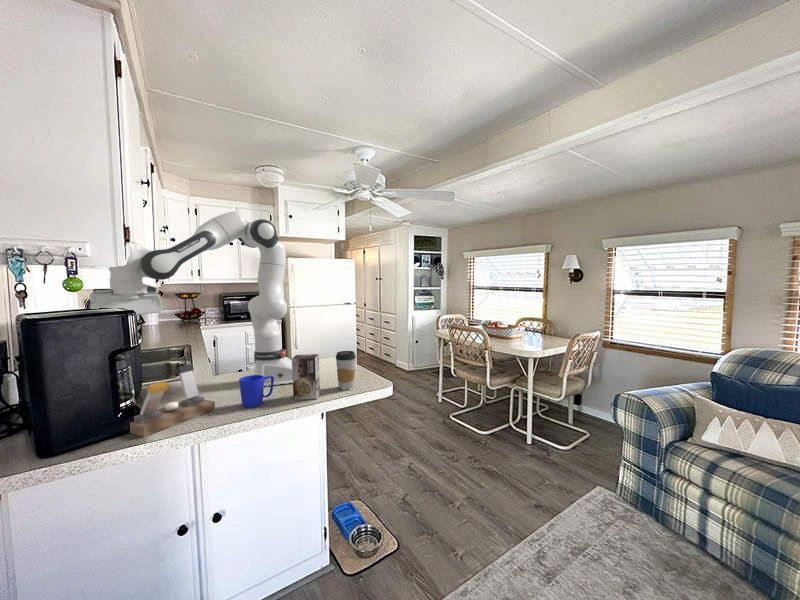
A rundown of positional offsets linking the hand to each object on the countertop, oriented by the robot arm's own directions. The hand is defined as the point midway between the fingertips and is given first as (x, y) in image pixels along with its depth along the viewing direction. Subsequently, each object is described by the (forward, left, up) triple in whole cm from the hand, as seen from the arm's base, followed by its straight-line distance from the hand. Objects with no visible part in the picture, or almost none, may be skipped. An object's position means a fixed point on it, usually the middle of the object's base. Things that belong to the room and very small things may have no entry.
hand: (130, 328), depth 114 cm
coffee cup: (-74, -10, -29) cm, 80 cm away
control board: (-18, +12, -29) cm, 36 cm away
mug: (-42, +2, -29) cm, 51 cm away
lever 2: (-22, +6, -25) cm, 33 cm away
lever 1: (-14, +18, -25) cm, 34 cm away
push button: (-18, +12, -26) cm, 34 cm away
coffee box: (-59, -2, -29) cm, 66 cm away
